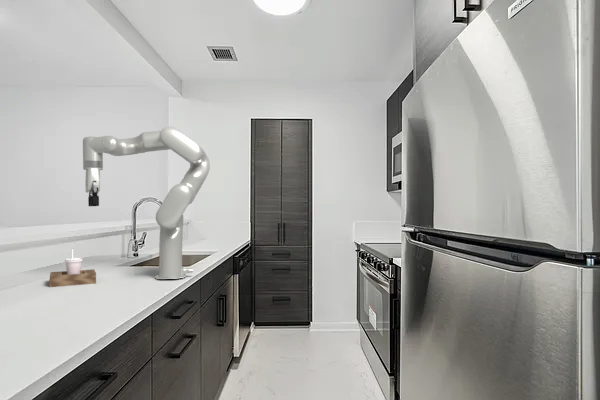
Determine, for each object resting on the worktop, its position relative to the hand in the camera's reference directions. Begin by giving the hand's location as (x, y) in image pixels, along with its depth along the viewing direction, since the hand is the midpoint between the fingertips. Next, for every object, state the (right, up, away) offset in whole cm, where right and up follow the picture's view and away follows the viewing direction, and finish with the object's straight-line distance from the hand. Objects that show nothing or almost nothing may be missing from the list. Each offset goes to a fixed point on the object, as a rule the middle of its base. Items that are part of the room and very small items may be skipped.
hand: (93, 206), depth 174 cm
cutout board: (-4, -31, -8) cm, 32 cm away
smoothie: (-4, -31, -8) cm, 32 cm away
